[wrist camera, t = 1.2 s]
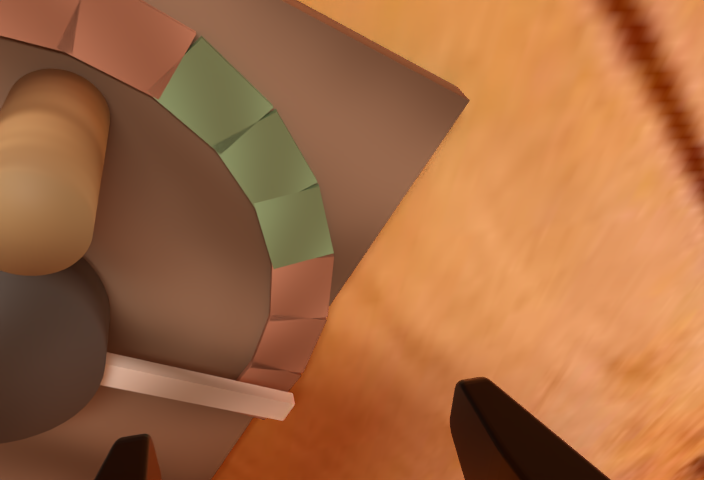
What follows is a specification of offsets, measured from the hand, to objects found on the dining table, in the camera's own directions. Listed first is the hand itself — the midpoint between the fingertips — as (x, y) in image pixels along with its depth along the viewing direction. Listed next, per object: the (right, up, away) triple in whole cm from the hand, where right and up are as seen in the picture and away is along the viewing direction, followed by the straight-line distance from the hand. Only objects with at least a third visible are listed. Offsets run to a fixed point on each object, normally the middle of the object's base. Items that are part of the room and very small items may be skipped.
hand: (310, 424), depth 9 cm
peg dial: (-6, +1, +11) cm, 13 cm away
